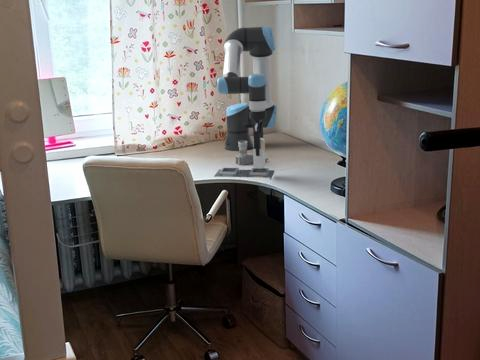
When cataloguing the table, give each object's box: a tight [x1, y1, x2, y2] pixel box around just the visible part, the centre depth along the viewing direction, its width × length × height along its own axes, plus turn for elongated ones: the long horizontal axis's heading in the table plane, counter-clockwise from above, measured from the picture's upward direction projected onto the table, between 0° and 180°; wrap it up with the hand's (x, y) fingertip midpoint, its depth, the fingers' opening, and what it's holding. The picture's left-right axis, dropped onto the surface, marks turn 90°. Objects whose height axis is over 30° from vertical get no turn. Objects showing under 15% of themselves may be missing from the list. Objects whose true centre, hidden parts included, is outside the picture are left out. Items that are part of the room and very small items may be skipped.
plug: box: [252, 137, 266, 168], centre depth 288 cm, size 4×5×13 cm
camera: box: [235, 141, 269, 166], centre depth 310 cm, size 9×12×15 cm
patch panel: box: [213, 167, 275, 180], centre depth 292 cm, size 12×26×2 cm, turn 79°
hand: (259, 160), depth 289 cm, fingers closed on plug, 4 cm apart
